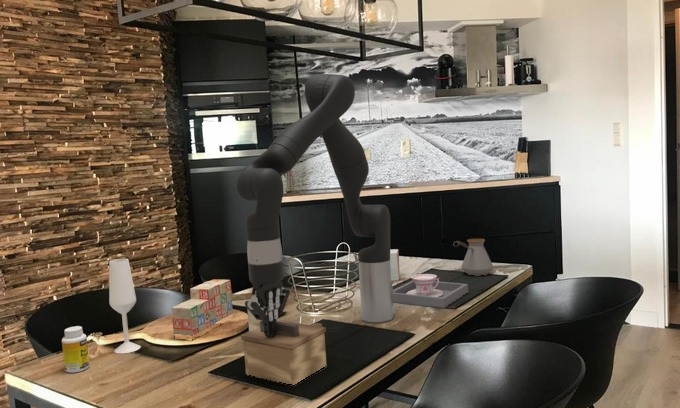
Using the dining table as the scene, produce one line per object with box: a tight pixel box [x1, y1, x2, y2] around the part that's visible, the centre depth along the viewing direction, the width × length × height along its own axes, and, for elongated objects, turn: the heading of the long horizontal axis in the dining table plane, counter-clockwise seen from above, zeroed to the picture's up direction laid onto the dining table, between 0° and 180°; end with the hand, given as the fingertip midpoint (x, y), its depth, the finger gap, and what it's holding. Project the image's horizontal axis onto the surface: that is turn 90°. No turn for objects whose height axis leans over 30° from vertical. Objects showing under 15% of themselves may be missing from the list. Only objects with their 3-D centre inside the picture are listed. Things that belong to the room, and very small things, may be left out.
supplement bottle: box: [61, 325, 90, 374], centre depth 141 cm, size 6×6×10 cm
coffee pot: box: [452, 238, 494, 277], centre depth 213 cm, size 21×12×15 cm, turn 140°
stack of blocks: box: [171, 279, 234, 336], centre depth 169 cm, size 21×6×12 cm, turn 159°
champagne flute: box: [108, 258, 142, 354], centre depth 154 cm, size 7×7×24 cm
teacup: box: [406, 273, 443, 297], centre depth 189 cm, size 12×12×6 cm
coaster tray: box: [393, 280, 469, 309], centre depth 188 cm, size 19×19×3 cm
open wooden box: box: [242, 333, 327, 386], centre depth 133 cm, size 12×14×8 cm
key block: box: [247, 309, 262, 332], centre depth 151 cm, size 4×4×12 cm
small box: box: [390, 248, 401, 282], centre depth 217 cm, size 8×6×10 cm
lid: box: [240, 319, 327, 349], centre depth 133 cm, size 14×15×3 cm
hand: (271, 336), depth 129 cm, fingers closed
